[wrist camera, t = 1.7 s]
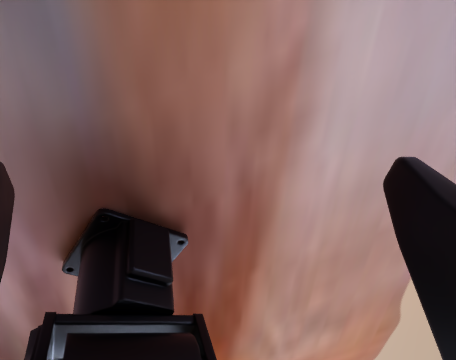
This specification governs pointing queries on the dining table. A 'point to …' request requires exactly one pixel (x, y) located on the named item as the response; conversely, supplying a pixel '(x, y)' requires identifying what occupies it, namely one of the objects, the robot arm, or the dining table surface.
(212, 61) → the dining table surface
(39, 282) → the dining table surface
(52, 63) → the dining table surface
